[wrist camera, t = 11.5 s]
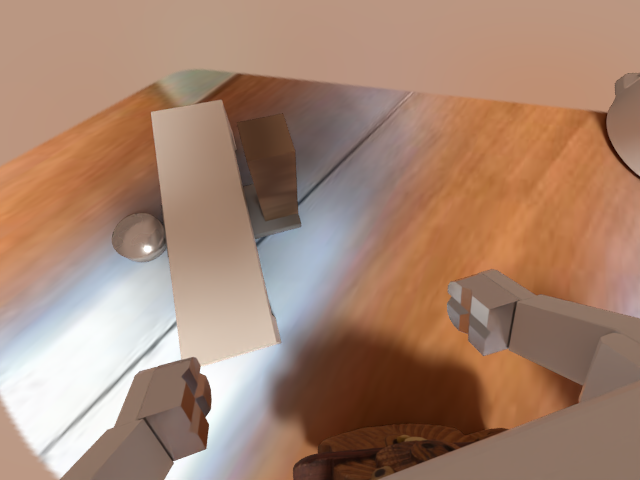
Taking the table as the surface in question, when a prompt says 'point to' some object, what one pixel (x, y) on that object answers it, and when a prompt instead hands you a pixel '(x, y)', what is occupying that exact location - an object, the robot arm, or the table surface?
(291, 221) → the brown l-shaped block
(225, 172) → the low shelf
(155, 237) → the steel bowl
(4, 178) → the table surface
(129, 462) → the robot arm
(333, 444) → the wooden carving
